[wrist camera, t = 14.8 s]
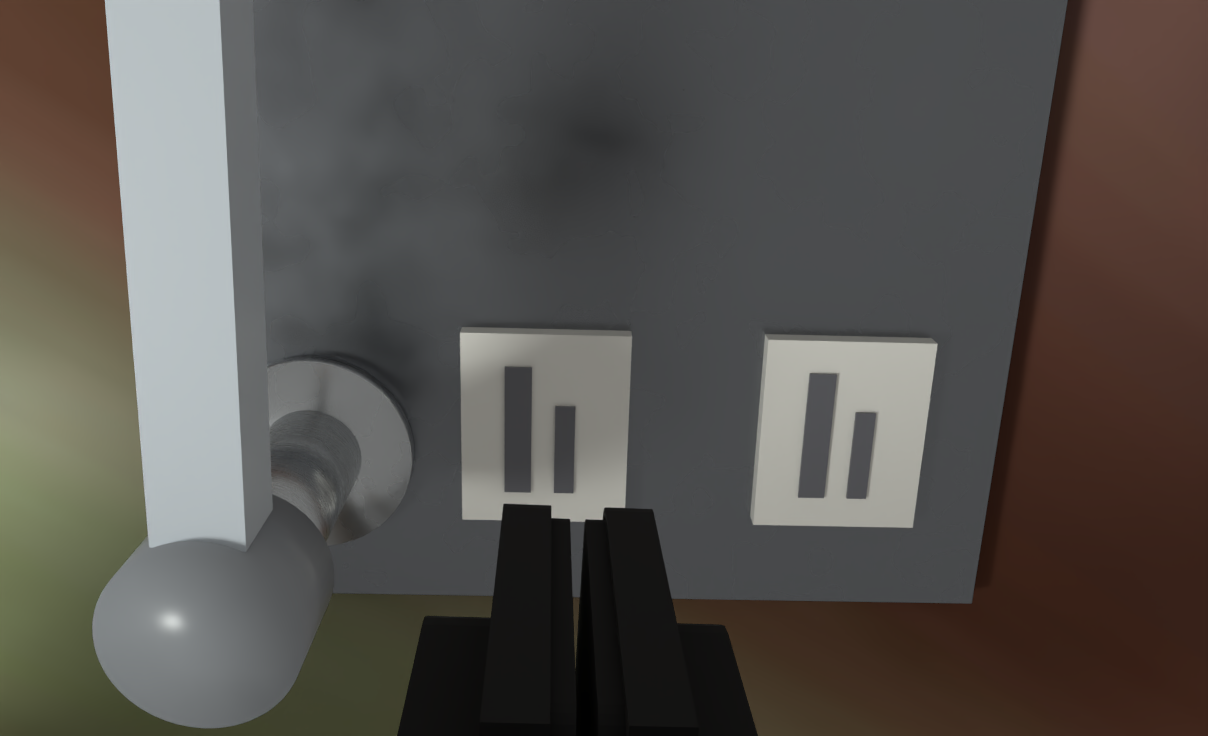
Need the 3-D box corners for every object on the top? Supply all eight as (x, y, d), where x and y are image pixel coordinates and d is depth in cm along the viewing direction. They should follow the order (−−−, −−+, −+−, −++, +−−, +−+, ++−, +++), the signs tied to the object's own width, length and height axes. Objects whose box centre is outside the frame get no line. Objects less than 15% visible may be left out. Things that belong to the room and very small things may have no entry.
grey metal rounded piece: (416, 538, 33) (376, 668, 27) (225, 535, 33) (136, 664, 27) (412, 357, 31) (367, 448, 25) (209, 353, 31) (108, 443, 25)
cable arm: (336, 654, 26) (305, 732, 23) (154, 646, 26) (101, 723, 23) (312, -544, 18) (263, -647, 16) (55, -566, 18) (-42, -675, 15)
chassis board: (963, 590, 35) (971, 603, 34) (238, 579, 35) (230, 591, 34) (1063, -52, 29) (1076, -54, 28) (180, -83, 28) (168, -86, 28)
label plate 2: (906, 518, 33) (913, 529, 33) (749, 516, 33) (753, 526, 33) (931, 337, 32) (938, 344, 31) (765, 334, 31) (769, 340, 31)
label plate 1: (623, 513, 33) (624, 523, 33) (464, 510, 33) (462, 521, 32) (631, 330, 31) (632, 337, 31) (462, 326, 31) (459, 333, 31)
